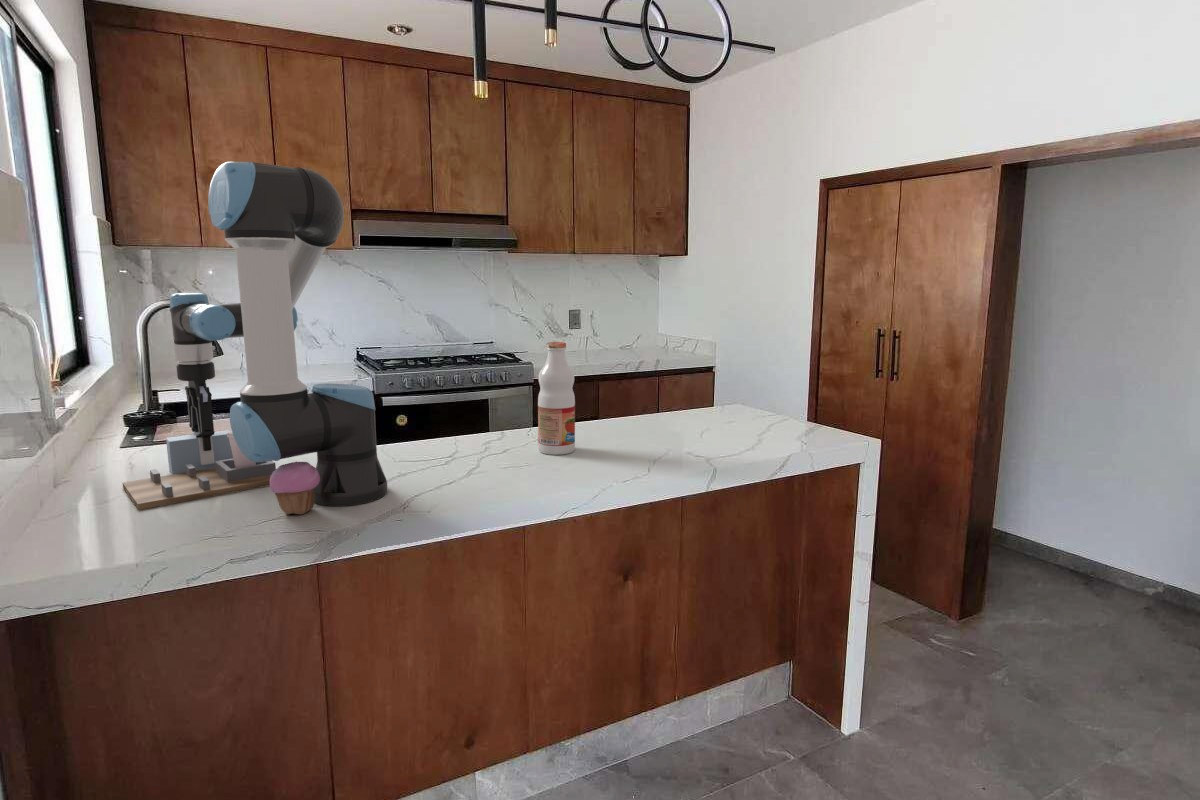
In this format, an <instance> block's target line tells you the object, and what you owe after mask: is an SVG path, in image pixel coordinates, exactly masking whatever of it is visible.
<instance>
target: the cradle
mask: <svg viewBox="0 0 1200 800" xmlns="http://www.w3.org/2000/svg"><path fill="white" fill-rule="evenodd" d="M276 467H277V466H276V461H266V462H256V465H251V466H245V467H239V468H235V463H234V459H226V460H220V461H215V471H216V473H217V474H218V475H220V476H221V477H222V478H223V479H224V480H226V481H227V482H233V481H238V480H244V479H250V478H255V477H261V476H267V475H272V473H273V471H274V470H276V469H277V468H276Z"/></svg>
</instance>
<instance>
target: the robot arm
mask: <svg viewBox="0 0 1200 800" xmlns="http://www.w3.org/2000/svg"><path fill="white" fill-rule="evenodd" d="M207 201H208V202H207V204H208V206H207V207H208V214H209V215H208V216H209V218H210V221H211V224H212V225H213V226H214V227H215V228H216V229H218V230H220V231H223V232H224V240H225V242H226V243H227V244H228V245H230V246H231V247H232V248H233V249H234V250H235V258H236V259H235V260H236V267H237V278H238V279H237V280H238V281H237V282H238V290H239V299H240V302H233V303H232V302H231V303H230V302H228V303H210V302H209V297H208V295H207V294H206V293H202V292H179V293H177V292H176V293H172V294H171V295H170V297H169V312H170V318H171V319H170V320H171V327H172V334H173V335H172V336H173V349H174V357H175V358H174V359H175V361H176V362H177V364H176V365H175V366H176V374H177V375H176V376H177V379H178V380H179V381H182V382H187V383H188V384H187V385H186V386H185V387H184V390H185V395H186V400H187V401H186V402H187V403H186V404H187V412H188V423H189V428H191V429H190V430H191V431H192V434H199V435H196V438H198V441H199V451H200V461H201V465H206V464H212V463H215V462H214V451H213V441H212V435H214V433H215V432H216V431H215V428H214V427H215V426H214V416H213V405H212V393H211V391H210V387H209V386H207V382H206V381H207V380H212V379H214V378H215V377H216V370H215V368H216V367H215V363H214V362H213V361H212V360H213V359H214V352H213V351H215V350H216V346H215V345H213V343H212V342H213V341H223V340H225V339H233V338H243V344H244V355H245V363H246V375H247V382H246V383H245V385H244V386H243V387H242V388H241V389H240V390H239V397H240V398H239V399H240V401H237V402H235V403H233V404H232V405H231V406H230V409H229V412H230V413H229V415H228V416H229V423H230V428H231V429H230V430H232V433H233V436H234V438H235V441H236V443H237V445H238V447H239V448H240V450H241V452H242V453H243V454H244V455H245V456H246V457H247V458H248V459H249V460H251V461H253V462H266V461H273V462H278V461H280V460H282V459H283V460H284V459H288V458H289V459H290V458H294V457H299V456H304V455H309V454H315V453H316V457H317V458H316V461H317V462H316V466H315V468H316V470H317V471H318V473H319V476H320V482H319V484H318V485H317V486H316V487H315V489H314V504H319V505H322V506H332V507H344V506H345V507H347V506H354V505H355V506H356V505H361V504H368V503H370V502H374V501H377V500H379V499H382V498H383V497H385V496H386V495H387V493H388V491H389V490H388V481H387V478H386V475H385V473H384V470H383V468H382V466H381V462H380V460H379V458H378V449H377V431H376V430H377V429H376V428H377V427H376V413H375V412H376V409H377V408H376V406H375V399H374V393H373V391H372V390H371V389H370V388H368V387H366V386H361V385H357V384H348V383H347V384H346V383H333V382H332V383H330V382H329V383H315V384H313V386H312V388H311V392H312V393H311V392H310V393H308V386H307V385H306V384H305V383H303V382H302V381H301V380H300V379H299V376H298V363H297V353H296V339H295V330H296V328H297V326H298V324H297V323H298V318H299V317H298V313H297V309H296V307H295V306H296V303H297V302H298V300H299V298H300V296H301V295H302V293H303V290H304V289H305V287H306V286H307V284H308V281H309V280H310V278H311V276H312V275H313V272H314V271H315V269H316V268H317V265H318V263H319V261H320V259H321V258H322V256H323V254H324V252H325V251H326V249H327V248H329V247H331V246H333V245H334V244H335V242H336V241H337V240H338V237H339V236H340V234H341V231H342V229H343V227H344V219H345V211H344V205H343V204H344V203H343V202H342V199H341V195H340V193H339V192H338V189H336V187H335V186H334V185H333V183H332V182H331V181H330V180H328V178H326V177H325V176H324V175H322V174H321V173H319V172H317V171H315V170H312V169H309V168H305V167H294V166H293V167H292V166H285V165H284V166H283V165H278V164H277V165H276V164H270V163H269V164H268V163H261V162H255V161H254V162H253V161H226V162H224V163H222V164H221V165H219V166H218V168H216V170H215V172H214V174H213V176H212V178H211V180H210V185H209V190H208V200H207Z"/></svg>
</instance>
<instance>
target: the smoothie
mask: <svg viewBox="0 0 1200 800" xmlns="http://www.w3.org/2000/svg"><path fill="white" fill-rule="evenodd" d="M228 430H229V431H227V437H229V442H230V446H231V450H232V455H233V459H234V463H235V468H239V467H245V466H251V465H256V462H253V461H251V460H249V459H248V458H247V457H246V456H245V455H244V454H243V453H242V452H241V450H240V448H239V447H238V445H237V443H236V441H235V438H234V436H233V433H232V429H228Z"/></svg>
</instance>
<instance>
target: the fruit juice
mask: <svg viewBox="0 0 1200 800" xmlns="http://www.w3.org/2000/svg"><path fill="white" fill-rule="evenodd" d="M546 350H547V357H546V359H545V363H544V365H543V366H542V368H541V369H540V371H539V373H538V383H539V387H540V389H539V393H538V397H537V413H538V414H537V418H538V419H537V420H538V421H537V424H538V427H537V429H538V430H537V431H538V432H537V435H538V443H537V445H538V451H539V452H540V453H542V454H545V455H551V456H560V455H561V456H562V455H567V454H568V455H569V454H571V453H573V452H574V451H575V448H576V399H575V398H576V397H575V393H574V390H573V386H574V383H575V373H574V372H573V370H572V368H571V367H570V365H569V364H568V362H567V357H566V351H565V350H567V343H566V342H564V341H548V342H547V343H546Z"/></svg>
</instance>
